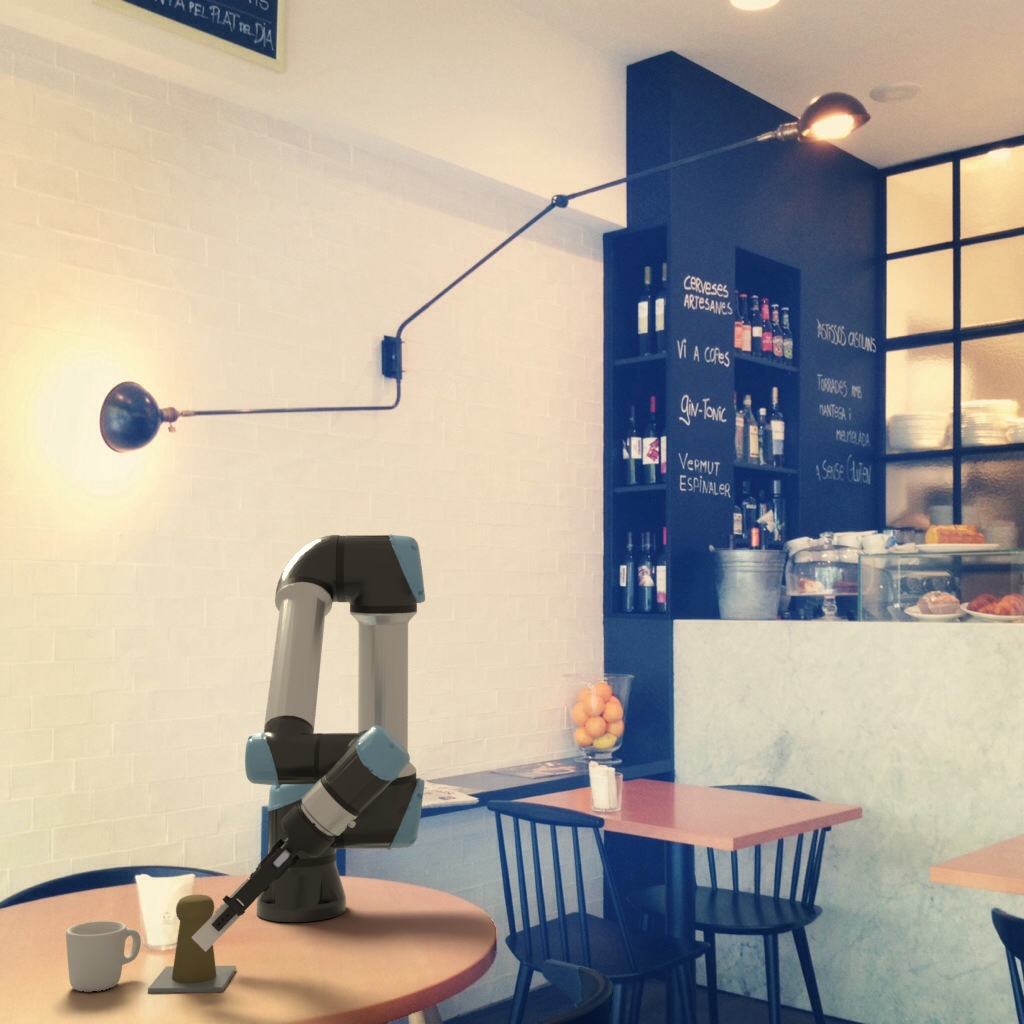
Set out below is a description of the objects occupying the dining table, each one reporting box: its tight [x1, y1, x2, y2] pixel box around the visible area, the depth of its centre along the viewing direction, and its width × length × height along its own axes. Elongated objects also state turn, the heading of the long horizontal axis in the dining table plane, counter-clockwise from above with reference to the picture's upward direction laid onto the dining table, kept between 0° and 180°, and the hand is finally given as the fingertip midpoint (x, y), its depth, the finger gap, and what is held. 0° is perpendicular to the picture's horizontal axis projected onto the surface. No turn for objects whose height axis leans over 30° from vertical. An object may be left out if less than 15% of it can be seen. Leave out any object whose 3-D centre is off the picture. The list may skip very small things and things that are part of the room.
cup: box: [65, 920, 141, 993], centre depth 167 cm, size 11×8×8 cm
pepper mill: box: [172, 893, 216, 983], centre depth 169 cm, size 6×6×11 cm
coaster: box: [147, 965, 237, 994], centre depth 168 cm, size 10×10×1 cm
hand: (210, 930), depth 168 cm, fingers open, 13 cm apart
